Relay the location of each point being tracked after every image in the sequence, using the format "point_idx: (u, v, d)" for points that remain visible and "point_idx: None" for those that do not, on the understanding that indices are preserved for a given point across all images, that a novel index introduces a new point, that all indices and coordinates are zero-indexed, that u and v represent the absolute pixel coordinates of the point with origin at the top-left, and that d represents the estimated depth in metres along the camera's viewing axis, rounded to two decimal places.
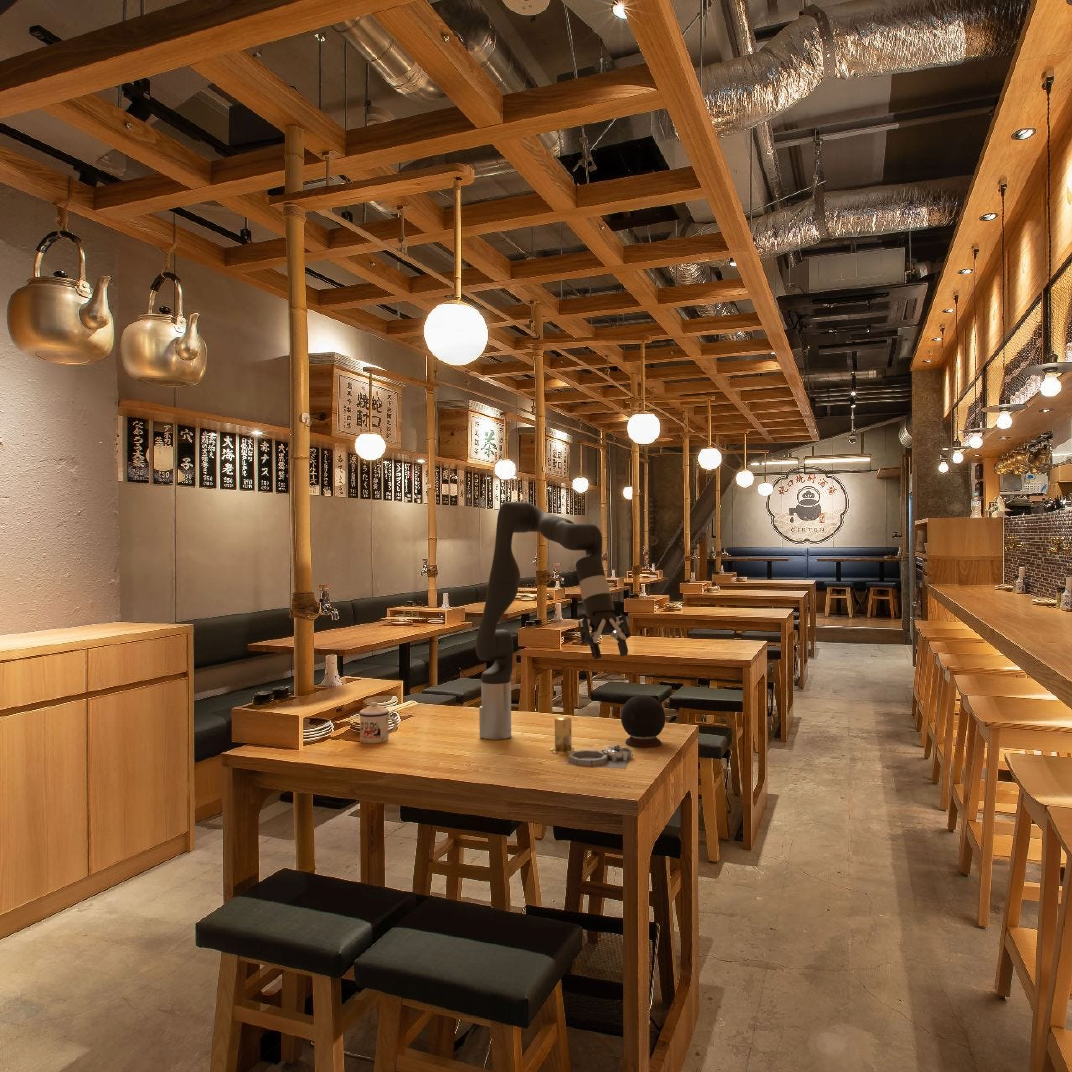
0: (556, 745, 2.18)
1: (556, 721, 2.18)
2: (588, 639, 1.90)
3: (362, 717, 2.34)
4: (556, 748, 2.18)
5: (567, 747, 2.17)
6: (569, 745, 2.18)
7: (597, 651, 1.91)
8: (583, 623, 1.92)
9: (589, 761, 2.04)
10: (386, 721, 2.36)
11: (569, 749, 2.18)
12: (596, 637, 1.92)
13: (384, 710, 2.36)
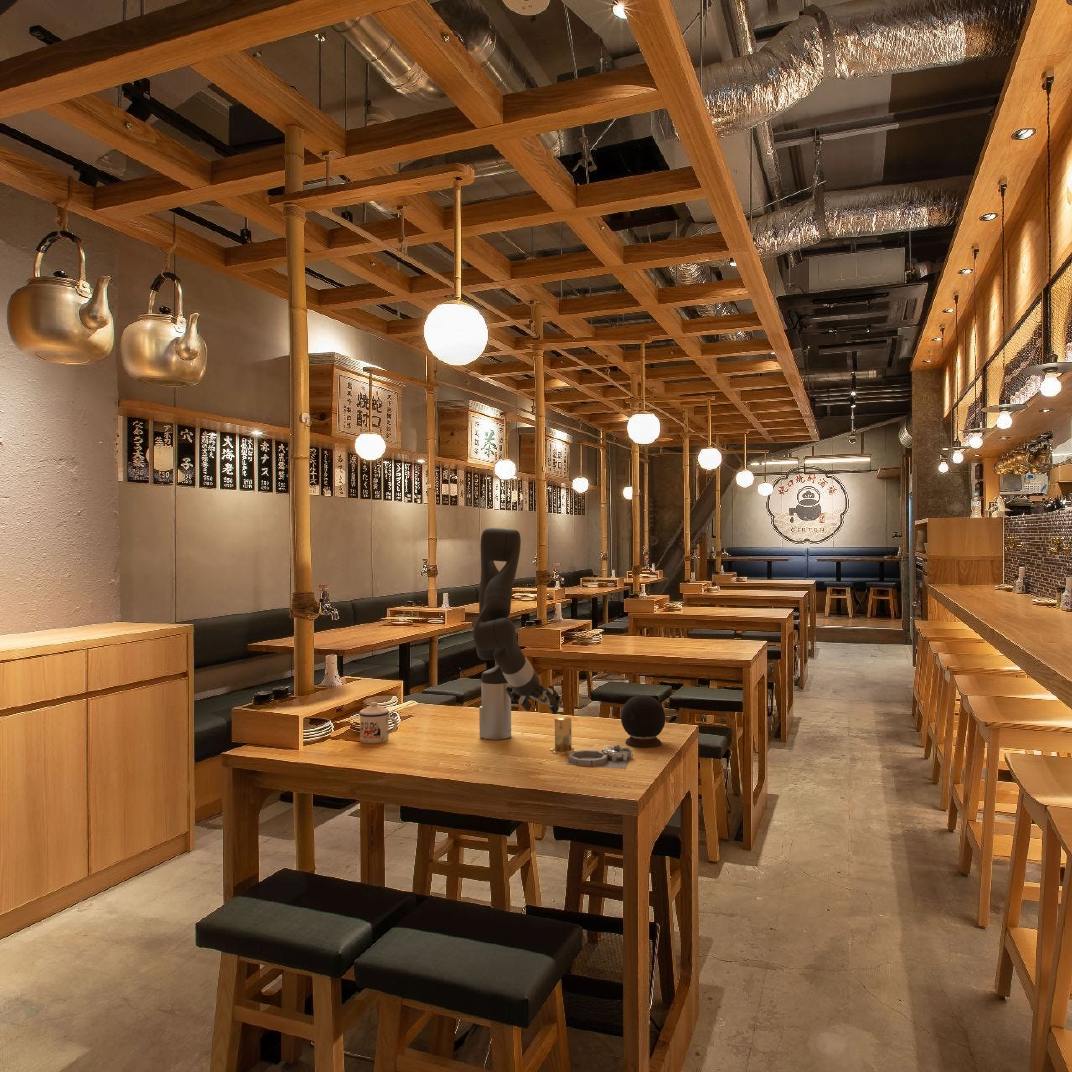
0: (556, 745, 2.18)
1: (556, 721, 2.18)
2: (513, 701, 2.09)
3: (362, 717, 2.34)
4: (556, 748, 2.18)
5: (567, 747, 2.17)
6: (569, 745, 2.18)
7: None
8: None
9: (589, 761, 2.04)
10: (386, 721, 2.36)
11: (569, 749, 2.18)
12: (520, 701, 2.08)
13: (384, 710, 2.36)
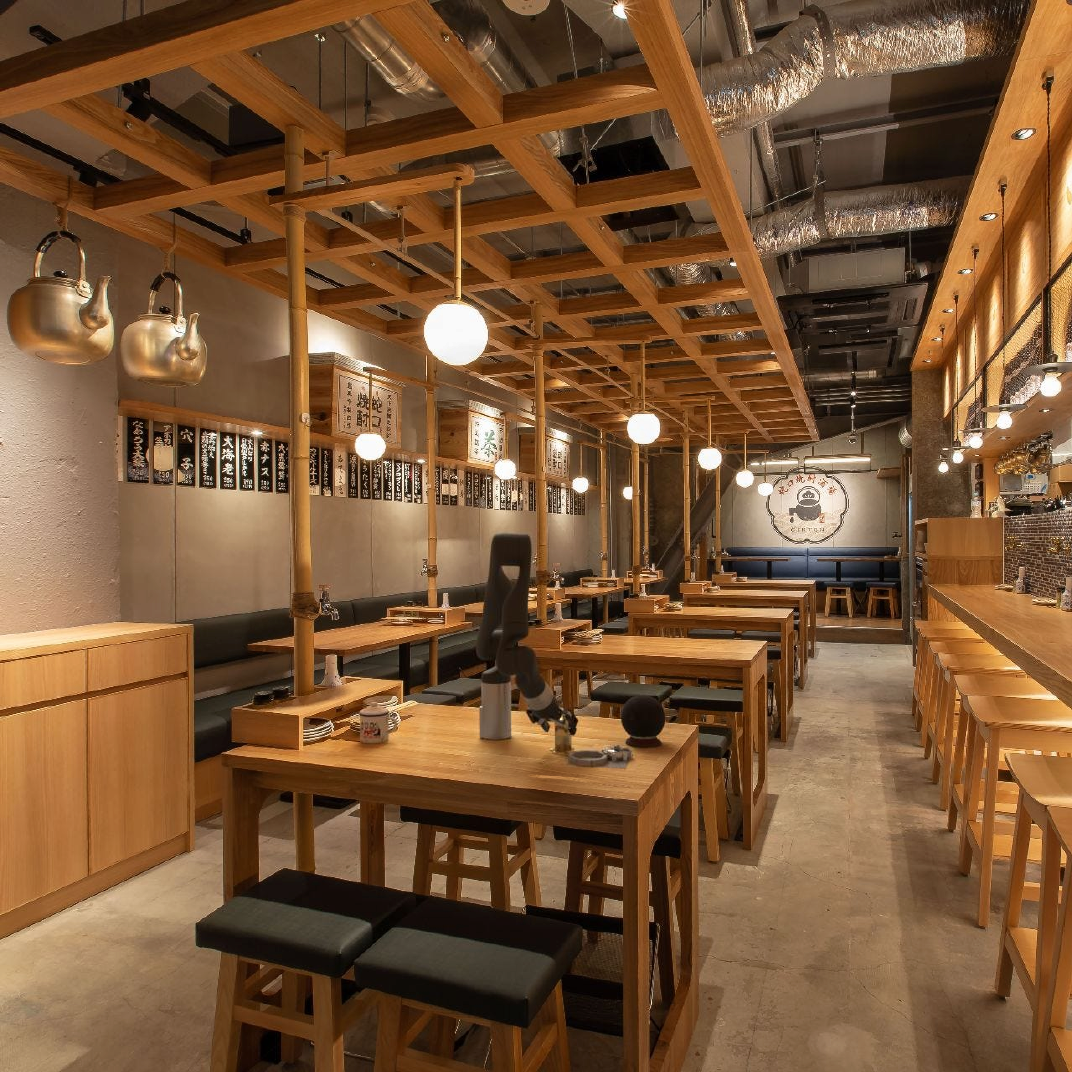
0: (556, 745, 2.18)
1: None
2: (532, 722, 2.18)
3: (362, 717, 2.34)
4: (556, 748, 2.18)
5: (567, 747, 2.17)
6: (569, 745, 2.18)
7: (543, 728, 2.19)
8: None
9: (589, 761, 2.04)
10: (386, 721, 2.36)
11: (569, 749, 2.18)
12: (540, 723, 2.17)
13: (384, 710, 2.36)
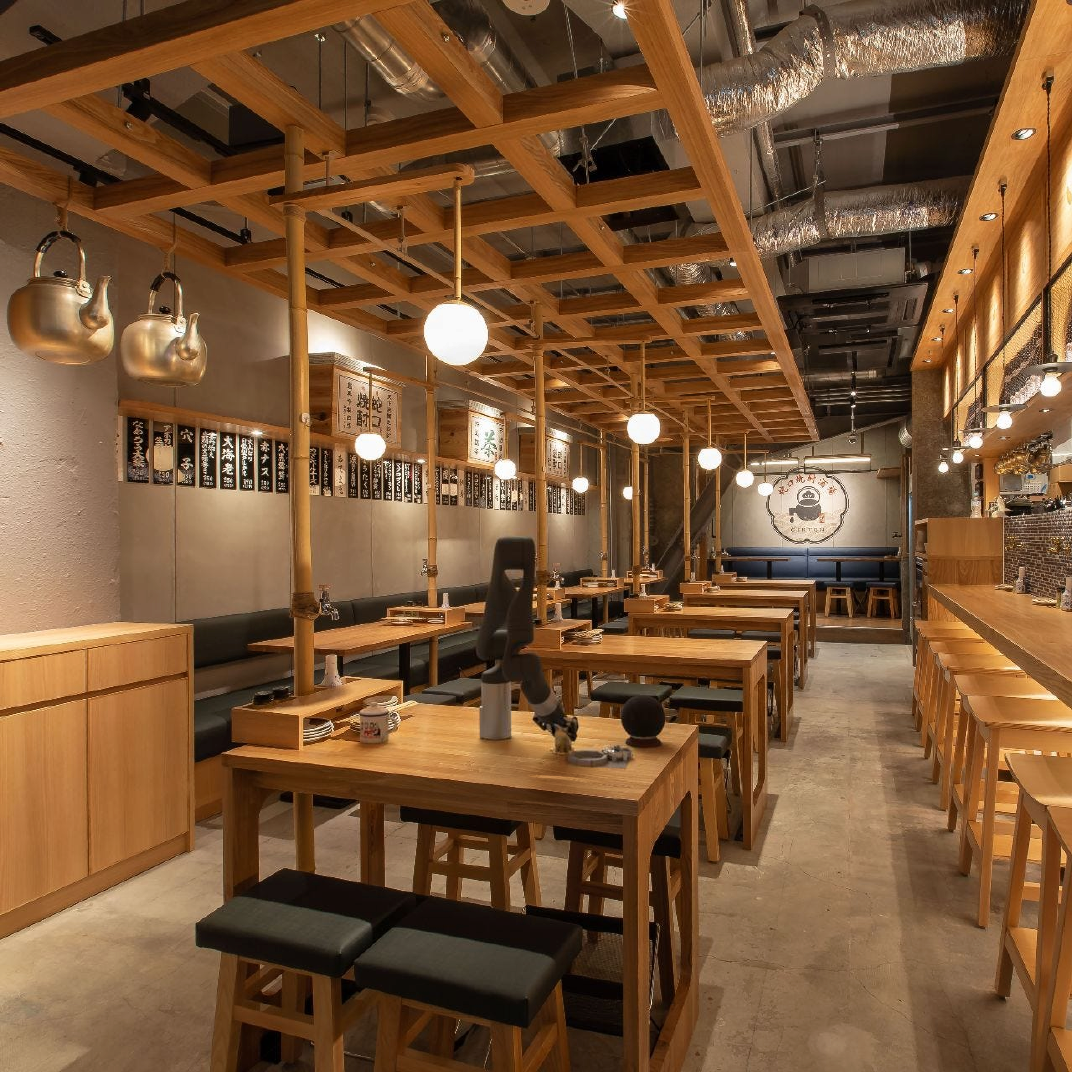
0: (556, 745, 2.18)
1: None
2: (543, 730, 2.20)
3: (362, 717, 2.34)
4: (556, 748, 2.18)
5: (567, 747, 2.17)
6: (569, 745, 2.18)
7: (554, 735, 2.21)
8: None
9: (589, 761, 2.04)
10: (386, 721, 2.36)
11: (569, 749, 2.18)
12: (549, 730, 2.19)
13: (384, 710, 2.36)
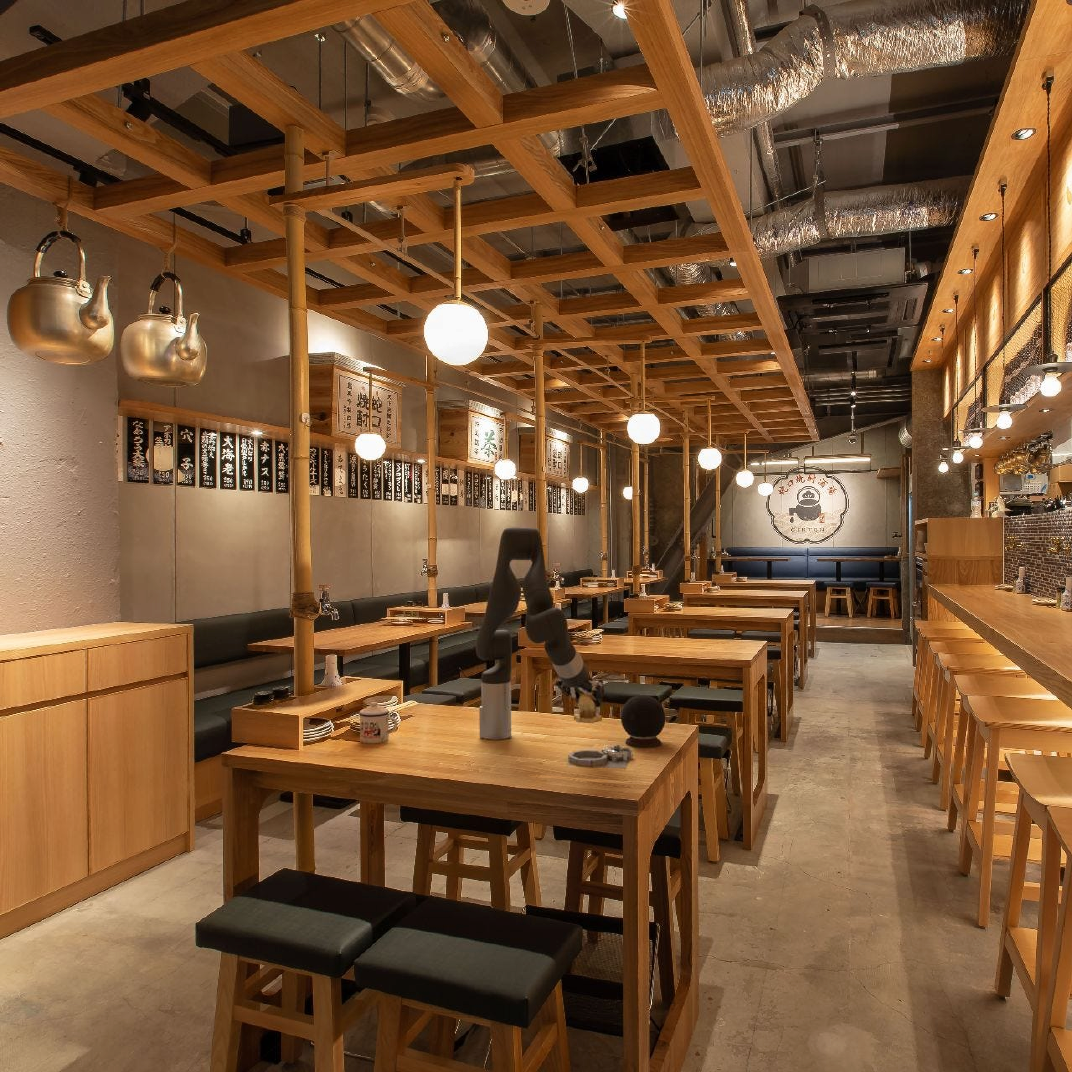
0: (580, 711, 2.08)
1: None
2: (566, 695, 2.10)
3: (362, 717, 2.34)
4: (580, 714, 2.08)
5: (592, 713, 2.07)
6: (594, 711, 2.08)
7: (577, 701, 2.11)
8: None
9: (589, 761, 2.04)
10: (386, 721, 2.36)
11: (594, 715, 2.08)
12: (573, 695, 2.09)
13: (384, 710, 2.36)
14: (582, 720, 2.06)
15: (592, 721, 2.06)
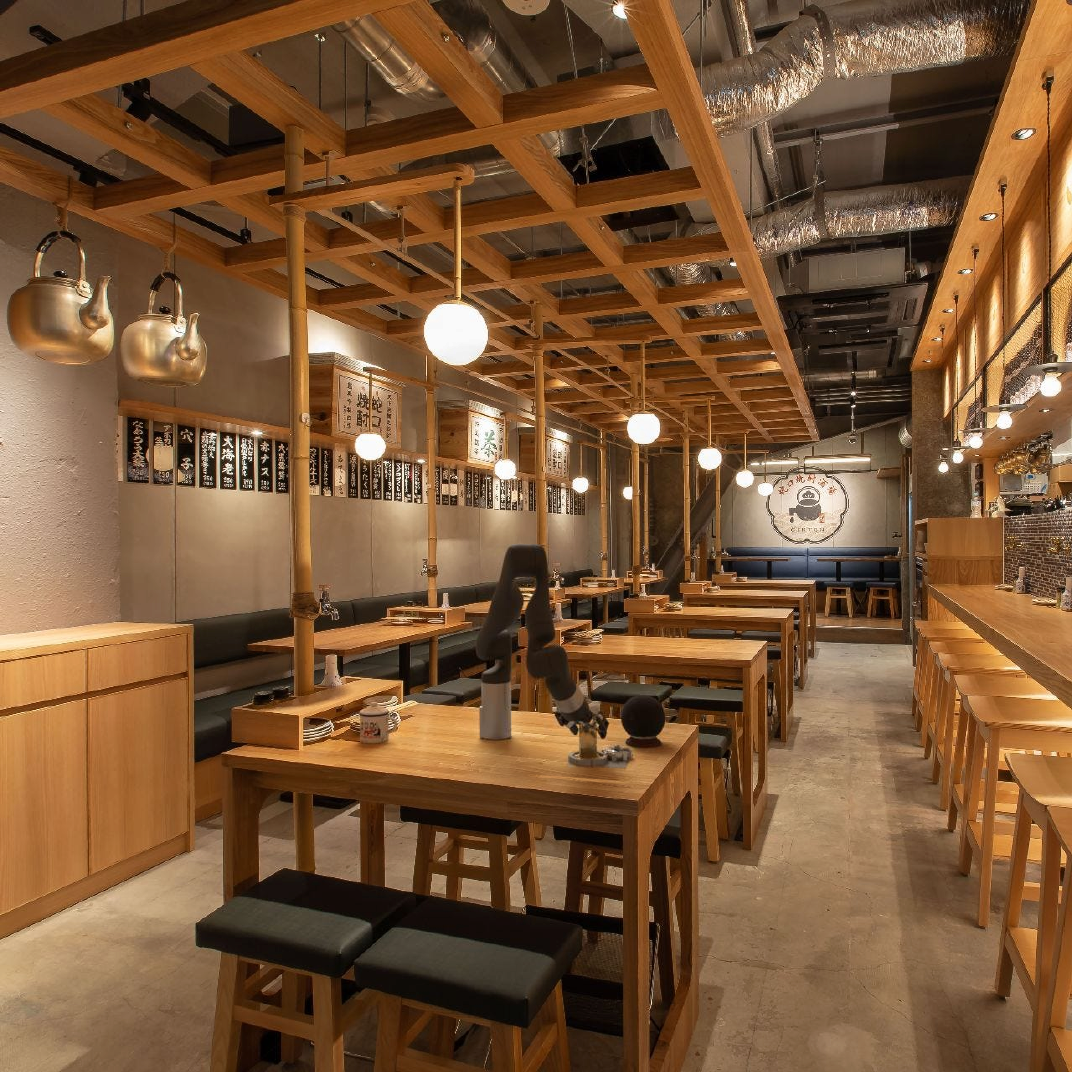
0: (581, 752, 2.08)
1: (581, 726, 2.08)
2: (561, 725, 2.10)
3: (362, 717, 2.34)
4: (581, 755, 2.08)
5: (592, 754, 2.07)
6: (594, 752, 2.08)
7: (572, 731, 2.11)
8: None
9: (589, 761, 2.04)
10: (386, 721, 2.36)
11: (594, 756, 2.08)
12: (568, 725, 2.09)
13: (384, 710, 2.36)
14: None
15: None
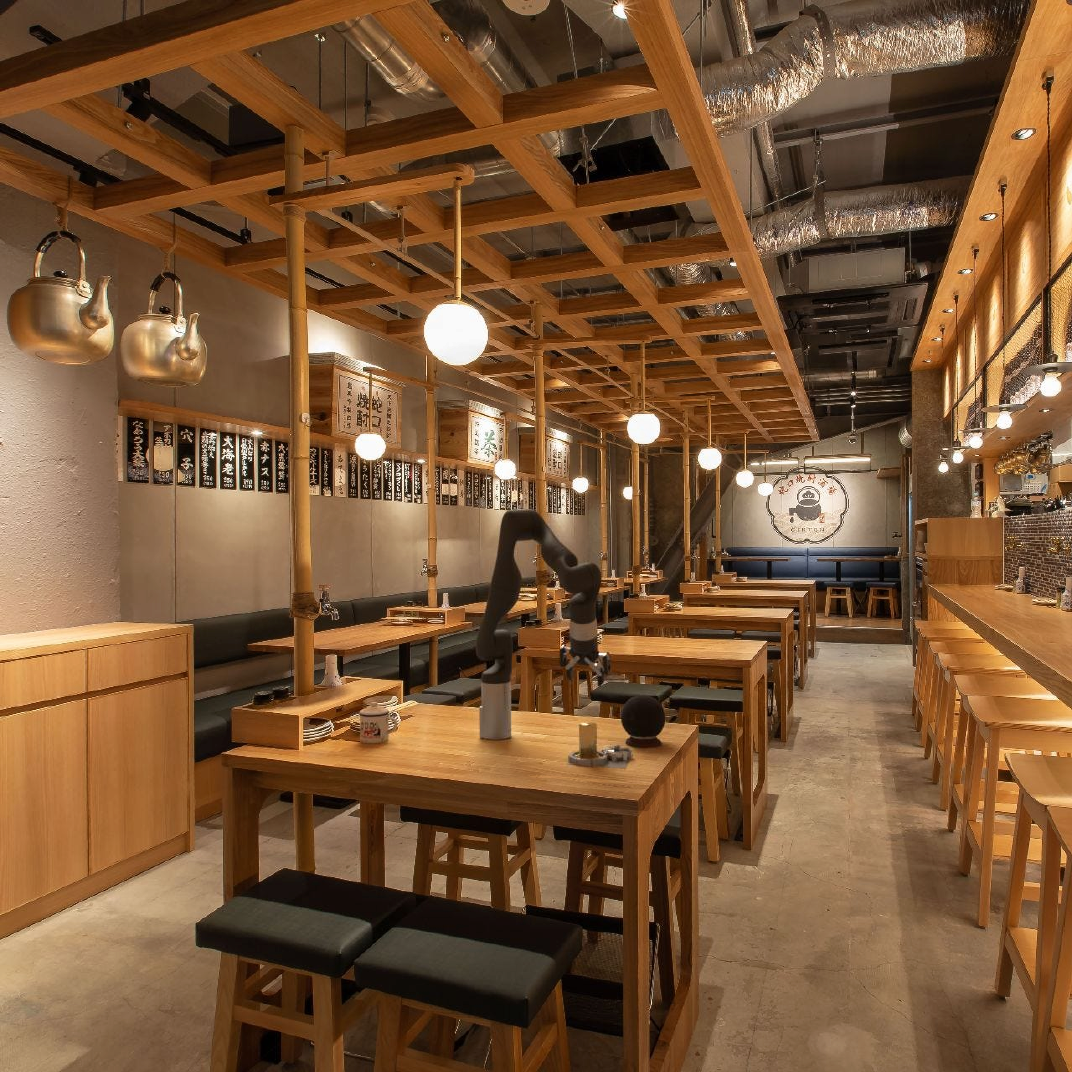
0: (581, 752, 2.08)
1: (581, 726, 2.08)
2: (560, 665, 2.13)
3: (362, 717, 2.34)
4: (581, 755, 2.08)
5: (592, 754, 2.07)
6: (594, 752, 2.08)
7: (568, 675, 2.14)
8: (560, 651, 2.11)
9: (589, 761, 2.04)
10: (386, 721, 2.36)
11: (594, 756, 2.08)
12: (569, 666, 2.12)
13: (384, 710, 2.36)
14: None
15: None
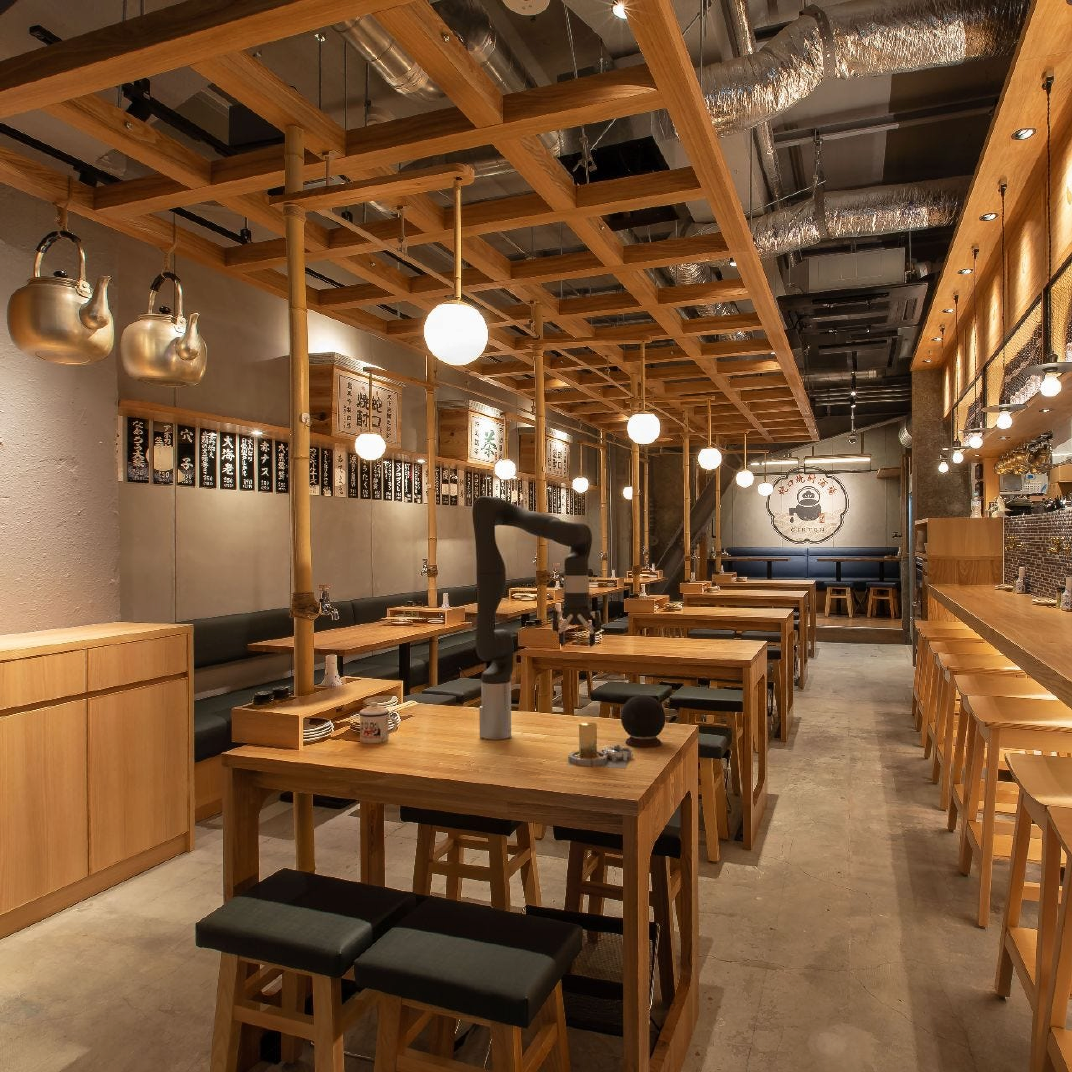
0: (581, 752, 2.08)
1: (581, 726, 2.08)
2: (553, 629, 2.25)
3: (362, 717, 2.34)
4: (581, 755, 2.08)
5: (592, 754, 2.07)
6: (594, 752, 2.08)
7: (561, 640, 2.25)
8: (553, 614, 2.26)
9: (589, 761, 2.04)
10: (386, 721, 2.36)
11: (594, 756, 2.08)
12: (562, 628, 2.25)
13: (384, 710, 2.36)
14: None
15: None
